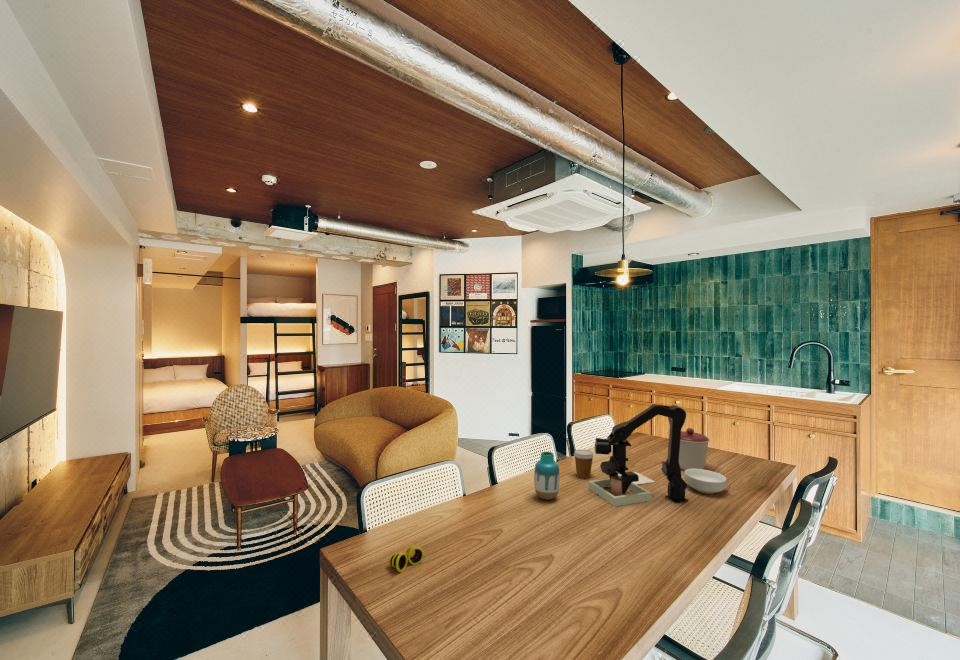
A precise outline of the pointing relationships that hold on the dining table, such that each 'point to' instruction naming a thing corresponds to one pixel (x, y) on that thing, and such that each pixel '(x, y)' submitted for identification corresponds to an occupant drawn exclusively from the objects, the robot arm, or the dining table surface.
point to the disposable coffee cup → (583, 462)
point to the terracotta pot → (616, 486)
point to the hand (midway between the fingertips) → (618, 490)
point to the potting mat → (641, 479)
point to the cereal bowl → (705, 480)
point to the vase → (546, 477)
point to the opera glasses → (406, 558)
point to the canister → (692, 450)
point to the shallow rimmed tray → (639, 495)
